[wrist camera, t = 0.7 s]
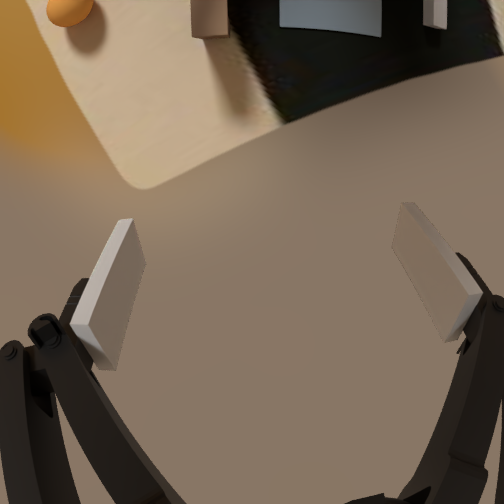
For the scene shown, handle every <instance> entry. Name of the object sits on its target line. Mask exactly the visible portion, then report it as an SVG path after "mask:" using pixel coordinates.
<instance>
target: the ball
mask: <svg viewBox="0 0 504 504" xmlns="http://www.w3.org/2000/svg"><path fill="white" fill-rule="evenodd" d="M92 6H93V0H49V1H48V4H47V16H48V18H49V20H50V21H51V22H52V23H53V24H55V25H57V26H60V27H69V26H73V25H76V24H78V23H79V22H81V21H82V20H84V19H85V18H86V17H87V15H88V14H89V13H90V11H91V9H92Z"/></svg>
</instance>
